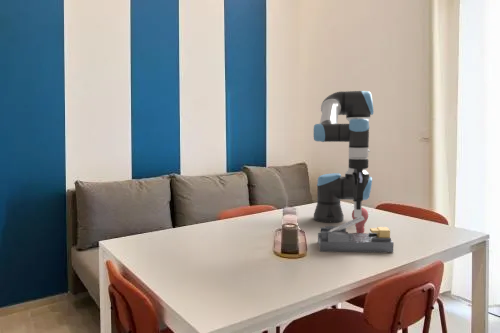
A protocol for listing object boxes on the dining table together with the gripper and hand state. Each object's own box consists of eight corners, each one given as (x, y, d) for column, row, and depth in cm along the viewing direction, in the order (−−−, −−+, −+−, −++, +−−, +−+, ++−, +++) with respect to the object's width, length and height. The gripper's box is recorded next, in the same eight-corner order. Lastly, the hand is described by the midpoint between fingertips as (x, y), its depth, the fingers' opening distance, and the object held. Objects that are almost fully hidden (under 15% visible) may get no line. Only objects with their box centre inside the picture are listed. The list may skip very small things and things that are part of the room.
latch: (371, 239, 165) (372, 230, 164) (369, 235, 169) (369, 226, 169) (389, 239, 164) (390, 230, 163) (386, 235, 169) (387, 227, 168)
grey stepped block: (320, 251, 163) (320, 234, 162) (317, 242, 175) (318, 225, 174) (393, 252, 161) (393, 235, 160) (385, 243, 173) (386, 226, 172)
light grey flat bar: (324, 237, 167) (323, 235, 167) (323, 235, 170) (322, 233, 170) (364, 219, 165) (363, 217, 165) (363, 217, 168) (362, 215, 168)
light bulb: (349, 234, 186) (350, 208, 184) (353, 230, 192) (354, 205, 190) (365, 236, 182) (366, 209, 181) (369, 232, 189) (370, 206, 187)
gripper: (371, 159, 157) (370, 221, 159) (365, 156, 170) (364, 213, 172) (351, 159, 157) (350, 220, 160) (346, 156, 170) (345, 213, 173)
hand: (357, 216), depth 166 cm, fingers closed
